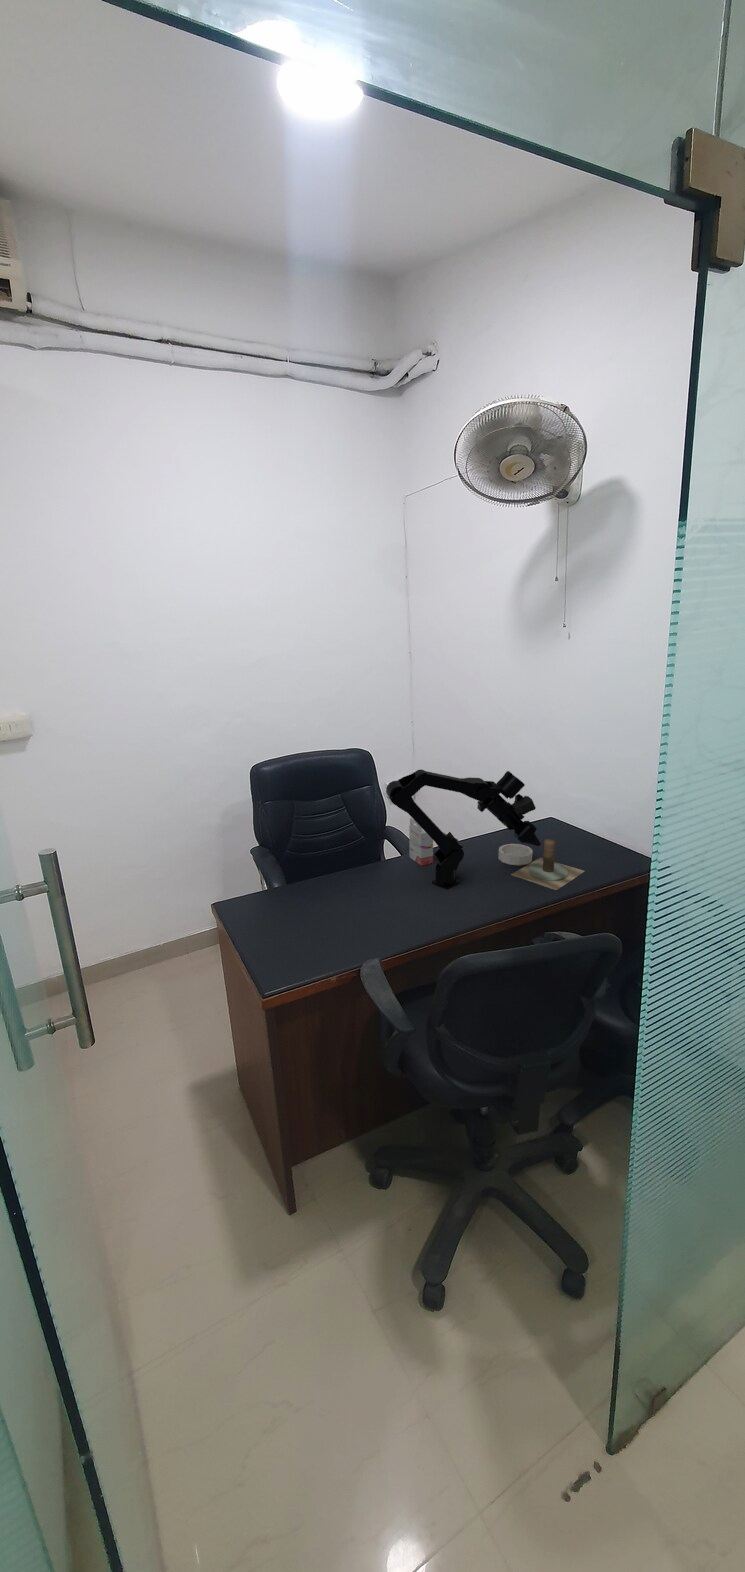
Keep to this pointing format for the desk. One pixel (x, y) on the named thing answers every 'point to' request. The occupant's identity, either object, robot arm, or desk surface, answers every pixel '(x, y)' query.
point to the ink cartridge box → (420, 844)
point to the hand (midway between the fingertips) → (534, 839)
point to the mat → (554, 885)
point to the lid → (548, 865)
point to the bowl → (515, 854)
